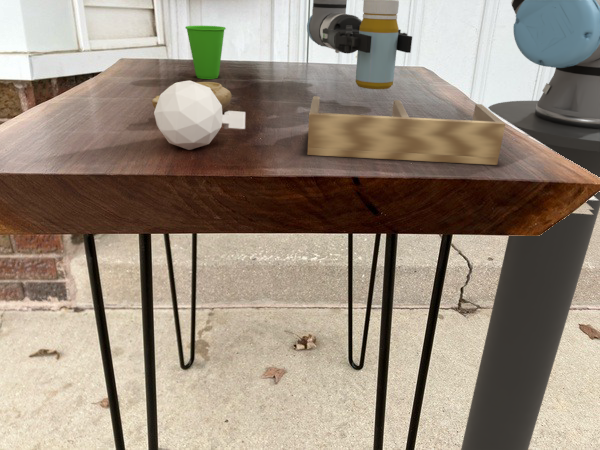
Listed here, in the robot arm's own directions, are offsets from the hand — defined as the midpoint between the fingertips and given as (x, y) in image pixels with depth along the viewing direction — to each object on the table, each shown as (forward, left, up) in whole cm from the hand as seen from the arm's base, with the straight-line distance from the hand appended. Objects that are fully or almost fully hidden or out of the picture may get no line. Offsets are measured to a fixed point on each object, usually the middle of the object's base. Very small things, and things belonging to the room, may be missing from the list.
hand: (389, 44), depth 91 cm
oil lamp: (+32, +11, -12) cm, 36 cm away
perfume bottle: (+27, +28, -12) cm, 41 cm away
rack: (0, +23, -12) cm, 26 cm away
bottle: (+2, -5, -8) cm, 10 cm away
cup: (+39, -28, -12) cm, 49 cm away
